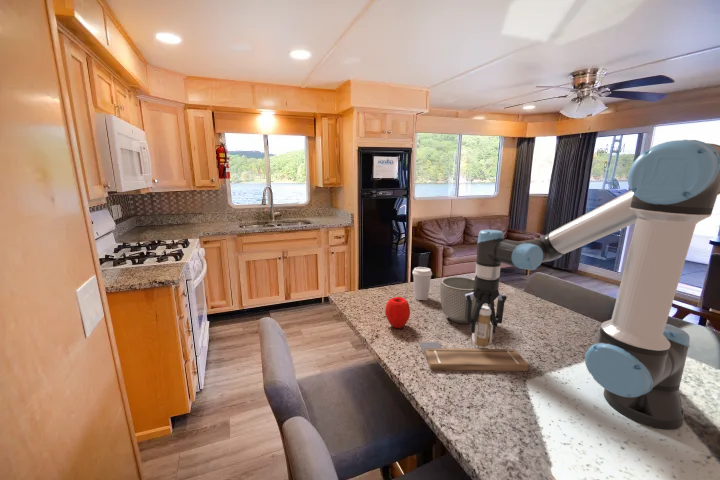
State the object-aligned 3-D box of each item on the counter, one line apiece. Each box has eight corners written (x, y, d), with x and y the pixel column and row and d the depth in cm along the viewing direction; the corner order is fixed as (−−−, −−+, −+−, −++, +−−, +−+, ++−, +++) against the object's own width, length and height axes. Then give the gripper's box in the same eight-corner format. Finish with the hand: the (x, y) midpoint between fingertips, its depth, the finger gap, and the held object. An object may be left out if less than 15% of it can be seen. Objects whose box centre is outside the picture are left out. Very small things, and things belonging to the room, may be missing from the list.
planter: (430, 318, 130) (432, 282, 127) (452, 307, 142) (454, 274, 139) (467, 332, 118) (470, 293, 115) (489, 319, 129) (492, 283, 126)
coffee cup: (433, 297, 154) (435, 268, 151) (427, 303, 146) (428, 273, 143) (415, 293, 159) (416, 265, 156) (408, 299, 151) (409, 270, 148)
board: (528, 370, 94) (528, 364, 94) (430, 369, 94) (430, 363, 94) (514, 354, 103) (514, 348, 103) (424, 353, 103) (424, 348, 103)
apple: (391, 318, 130) (392, 291, 127) (413, 324, 125) (414, 295, 122) (380, 328, 121) (381, 298, 119) (403, 334, 116) (404, 304, 114)
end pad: (443, 353, 103) (443, 353, 103) (423, 353, 103) (423, 352, 103) (438, 343, 110) (438, 342, 110) (419, 342, 110) (419, 342, 110)
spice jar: (491, 345, 106) (494, 308, 103) (482, 349, 103) (486, 311, 101) (479, 339, 110) (482, 304, 107) (471, 343, 107) (474, 306, 104)
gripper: (508, 273, 105) (502, 336, 110) (457, 272, 106) (453, 335, 110) (519, 280, 98) (511, 347, 102) (464, 279, 98) (459, 346, 103)
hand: (481, 340), depth 106 cm, fingers closed on spice jar, 4 cm apart
